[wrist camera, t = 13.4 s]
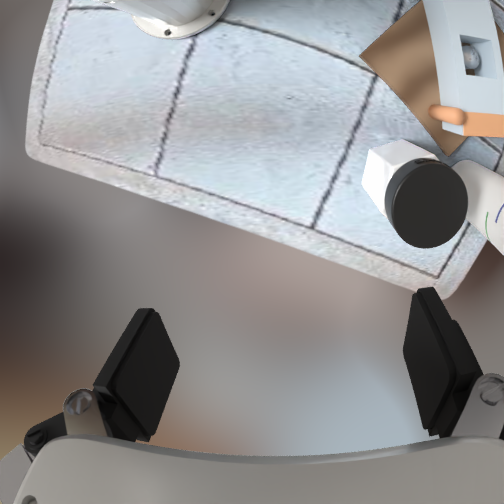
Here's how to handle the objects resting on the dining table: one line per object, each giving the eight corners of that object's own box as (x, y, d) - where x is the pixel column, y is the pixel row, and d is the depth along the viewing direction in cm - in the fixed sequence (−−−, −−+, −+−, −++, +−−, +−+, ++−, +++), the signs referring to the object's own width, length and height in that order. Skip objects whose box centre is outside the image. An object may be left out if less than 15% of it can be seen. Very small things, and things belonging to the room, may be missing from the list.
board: (358, 56, 28) (360, 55, 28) (450, -25, 20) (453, -27, 19) (445, 154, 32) (448, 156, 31) (523, 70, 24) (527, 70, 23)
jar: (436, 174, 34) (484, 209, 23) (395, 219, 37) (428, 267, 27) (390, 124, 32) (432, 140, 21) (347, 173, 35) (369, 208, 25)
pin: (425, 110, 29) (448, 115, 24) (434, 101, 28) (458, 104, 23) (434, 122, 30) (457, 128, 24) (443, 112, 29) (468, 118, 24)
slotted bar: (419, -11, 22) (436, -23, 17) (466, -3, 20) (486, -11, 16) (442, 129, 30) (463, 135, 25) (486, 130, 28) (508, 137, 24)
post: (444, 55, 25) (456, 53, 23) (456, 43, 24) (468, 41, 22) (458, 73, 26) (471, 73, 23) (470, 61, 25) (483, 60, 22)
